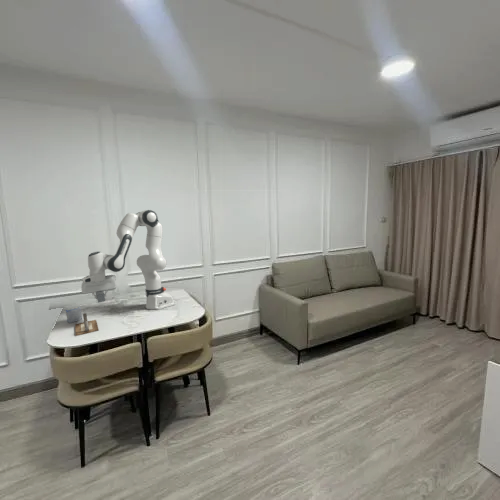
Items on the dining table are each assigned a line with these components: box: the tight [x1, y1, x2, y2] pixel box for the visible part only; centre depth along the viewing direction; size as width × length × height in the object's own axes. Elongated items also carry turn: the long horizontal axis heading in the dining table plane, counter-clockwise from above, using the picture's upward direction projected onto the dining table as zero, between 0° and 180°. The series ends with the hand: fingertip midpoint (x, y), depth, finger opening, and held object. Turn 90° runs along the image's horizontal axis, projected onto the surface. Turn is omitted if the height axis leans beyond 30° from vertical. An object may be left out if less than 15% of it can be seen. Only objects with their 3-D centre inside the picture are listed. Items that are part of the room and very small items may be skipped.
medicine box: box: [65, 306, 83, 324], centre depth 190 cm, size 8×4×9 cm, turn 141°
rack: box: [74, 312, 99, 337], centre depth 177 cm, size 12×19×7 cm, turn 32°
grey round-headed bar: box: [95, 290, 106, 304], centre depth 186 cm, size 5×12×5 cm, turn 33°
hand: (100, 297), depth 185 cm, fingers closed on grey round-headed bar, 4 cm apart
